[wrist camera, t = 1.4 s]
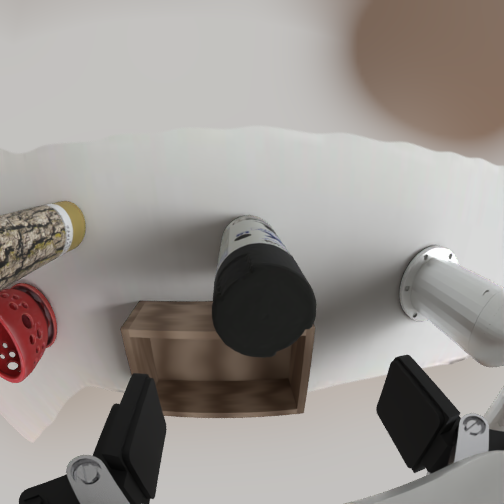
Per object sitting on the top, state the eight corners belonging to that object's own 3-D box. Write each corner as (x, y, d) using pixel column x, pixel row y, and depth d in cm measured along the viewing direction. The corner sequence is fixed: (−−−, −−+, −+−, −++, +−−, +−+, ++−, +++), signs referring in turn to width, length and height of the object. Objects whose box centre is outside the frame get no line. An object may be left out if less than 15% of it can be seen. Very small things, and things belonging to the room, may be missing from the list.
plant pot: (48, 271, 36) (1, 301, 24) (73, 346, 39) (40, 390, 27) (-1, 277, 35) (-44, 303, 23) (23, 344, 38) (-11, 378, 27)
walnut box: (300, 299, 39) (315, 327, 31) (293, 378, 42) (303, 413, 35) (139, 300, 38) (120, 328, 30) (154, 379, 41) (143, 413, 33)
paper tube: (90, 204, 34) (-59, 252, 10) (85, 253, 35) (-43, 341, 11) (52, 197, 33) (-91, 233, 9) (49, 243, 34) (-79, 311, 10)
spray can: (285, 244, 37) (339, 315, 18) (245, 277, 38) (257, 376, 18) (251, 203, 35) (274, 236, 16) (210, 239, 36) (185, 311, 17)
